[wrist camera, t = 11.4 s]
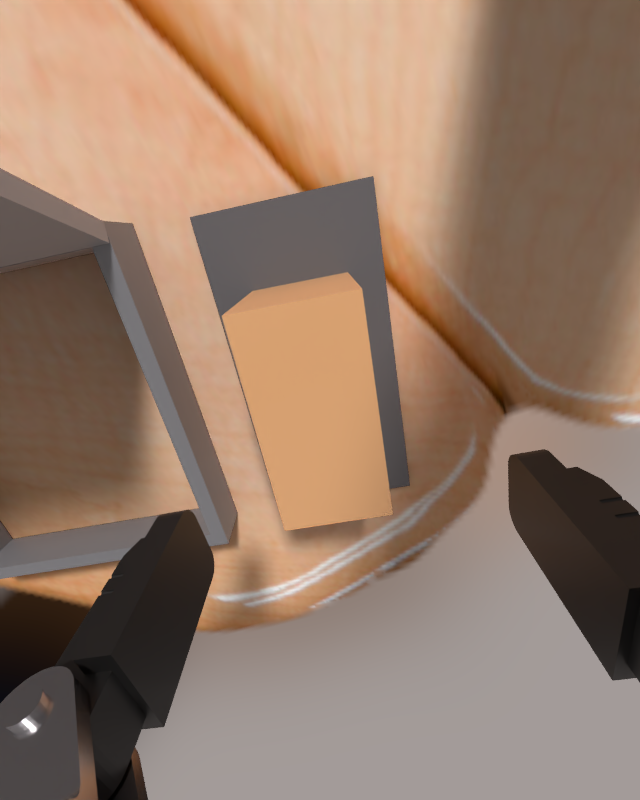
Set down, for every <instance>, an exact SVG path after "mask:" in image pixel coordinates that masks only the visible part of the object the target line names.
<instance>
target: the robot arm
mask: <svg viewBox="0 0 640 800" xmlns="http://www.w3.org/2000/svg"><path fill="white" fill-rule="evenodd" d="M508 469H509V470H508V474H509V475H508V476H509V477H508V479H509V510H510V515H511V518H512V521H513V524H514V526H515V528H516V530H517V532H518V533H519V535H520V537H521V538H522V540H523V541H524V543H525V545H526V546H527V548H528V549H529V551H530V552H531V554H532V555H533V557H534V559H535V560H536V562H537V563H538V565H539V566H540V568H541V570H542V571H543V572H544V574H545V576H546V577H547V579H548V580H549V582H550V584H551V585H552V587H553V588H554V590H555V591H556V593H557V594H558V596H559V598H560V599H561V601H562V602H563V604H564V605H565V607H566V609H567V610H568V612H569V613H570V615H571V616H572V618H573V619H574V621H575V623H576V624H577V626H578V627H579V629H580V630H581V632H582V634H583V635H584V637H585V638H586V640H587V641H588V642H589V644H590V646H591V648H592V649H593V651H594V652H595V654H596V655H597V657H598V658H599V660H600V662H601V663H602V665H603V666H604V668H605V669H606V671H607V672H608V674H609V676H610V677H611V679H612V680H621V679H630V678H637V679H638V680H639V682H640V515H639V513H638V511H637V510H636V509H635V508H634V507H633V506H632V505H631V504H629V503H628V502H627V501H626V500H623V499H622V497H621V496H620V495H619V494H618V493H617V492H616V491H615V490H614V489H613V488H612V487H610V486H609V485H608V484H607V483H606V482H605V481H604V480H602V479H600V478H598V477H596V476H594V475H592V474H590V473H588V472H586V471H584V470H582V469H580V468H578V467H573V468H566V467H565V466H564V465H562V463H560V462H559V461H558V460H557V459H556V458H555V457H554V456H553V455H552V454H551V453H550V452H549V451H547V450H538V451H532V452H527V453H520V454H515V455H511V456H510V457H509V461H508ZM213 574H214V558H213V553H212V551H211V548H210V546H209V544H208V542H207V540H206V538H205V536H204V533H203V531H202V529H201V527H200V525H199V523H198V521H197V518H196V516H195V515H194V513H193V512H192V511H190V510H185V511H179V512H173V513H167V514H162V515H159V516H158V517H157V518H156V520H155V521H154V523H153V525H152V526H151V528H150V530H149V531H148V533H147V535H146V537H145V538H141V539H140V540H139V541H138V542H137V543H136V544H135V545H134V546H133V547H132V548H131V549H130V550H129V551H128V552H127V553H126V554H125V555H124V556H123V558H122V559H121V561H120V562H119V564H118V566H117V567H116V569H115V570H114V572H113V574H112V578H111V579H109V580H108V582H107V583H106V585H105V586H104V588H103V590H102V591H101V592H102V594H101V596H98V598H97V599H96V601H95V603H94V604H93V606H92V607H91V609H90V611H89V612H88V614H87V616H86V617H85V619H84V620H83V622H82V623H81V625H80V627H79V628H78V630H77V631H76V633H75V635H74V636H73V638H72V640H71V641H70V643H69V644H68V646H67V648H66V649H65V651H64V652H63V654H62V656H61V657H60V659H59V660H58V662H57V664H56V665H55V666H54V667H51V668H48V669H45V670H43V671H40V672H38V673H36V674H35V675H33V676H32V677H30V678H28V679H27V680H26V681H24V682H23V683H22V684H20V685H19V686H18V687H17V688H16V689H14V690H13V691H12V692H11V693H10V694H9V695H8V696H7V697H6V698H5V699H4V700H3V702H2V703H1V704H0V800H148V797H147V792H146V788H145V782H144V777H143V772H142V767H141V762H140V758H139V754H138V751H137V750H136V748H135V745H136V742H137V740H138V737H139V734H140V732H141V729H148V728H158V727H164V726H165V723H166V719H167V716H168V713H169V710H170V707H171V704H172V701H173V698H174V694H175V692H176V689H177V686H178V683H179V679H180V676H181V673H182V670H183V667H184V664H185V661H186V658H187V655H188V652H189V649H190V645H191V643H192V640H193V636H194V633H195V630H196V627H197V624H198V621H199V618H200V615H201V612H202V609H203V606H204V603H205V600H206V596H207V593H208V590H209V587H210V584H211V581H212V578H213Z"/></svg>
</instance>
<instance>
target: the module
mask: <svg viewBox="0 0 640 800" xmlns="http://www.w3.org/2000/svg"><path fill="white" fill-rule="evenodd" d="M222 319H223V323H224V326H225V330H226V333H227V336H228V340H229V343H230V347H231V350H232V353H233V357H234V360H235V363H236V367H237V370H238V374H239V377H240V380H241V384H242V387H243V391H244V394H245V397H246V401H247V404H248V408H249V411H250V414H251V418H252V421H253V425H254V428H255V431H256V435H257V438H258V441H259V445H260V448H261V452H262V455H263V458H264V462H265V465H266V469H267V472H268V475H269V479H270V482H271V486H272V489H273V492H274V496H275V499H276V503H277V506H278V509H279V513H280V516H281V519H282V523H283V526H284V530H285V531H288V530H294V529H301V528H308V527H314V526H321V525H328V524H334V523H341V522H347V521H354V520H361V519H367V518H374V517H381V516H387V515H393V510H392V503H391V496H390V488H389V481H388V474H387V467H386V459H385V452H384V445H383V437H382V430H381V423H380V415H379V408H378V401H377V393H376V386H375V379H374V371H373V364H372V357H371V350H370V342H369V335H368V328H367V320H366V313H365V306H364V298H363V291H362V288H361V287H360V286H359V284H358V283H357V282H356V281H355V280H354V279H353V278H352V276H351V275H350V274H349V273H348V272H346V273H341V274H336V275H331V276H326V277H321V278H316V279H311V280H306V281H301V282H296V283H290V284H285V285H280V286H275V287H270V288H265V289H260V290H255V291H252V292H251V293H249V294H248V295H247V296H246V297H244V298H243V299H242V300H241V301H239V302H238V303H237V304H236V305H234V306H233V307H232V308H231V309H229V310H228V311H227V312H226V313H224V314H223V315H222Z"/></svg>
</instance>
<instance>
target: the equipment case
mask: <svg viewBox="0 0 640 800" xmlns="http://www.w3.org/2000/svg"><path fill="white" fill-rule="evenodd" d="M91 253H94V254H95V257H96V259H97V262H98V264H99V266H100V269H101V271H102V274H103V276H104V279H105V281H106V283H107V286H108V288H109V291H110V293H111V295H112V298H113V300H114V303H115V305H116V308H117V310H118V312H119V315H120V317H121V320H122V322H123V324H124V327H125V329H126V332H127V334H128V337H129V339H130V341H131V344H132V346H133V349H134V351H135V353H136V356H137V358H138V361H139V363H140V366H141V368H142V370H143V373H144V375H145V378H146V380H147V383H148V385H149V387H150V390H151V392H152V395H153V397H154V399H155V402H156V404H157V407H158V409H159V412H160V414H161V416H162V419H163V421H164V424H165V426H166V428H167V431H168V433H169V436H170V438H171V441H172V443H173V445H174V448H175V450H176V453H177V455H178V457H179V460H180V462H181V465H182V467H183V470H184V472H185V474H186V477H187V479H188V482H189V484H190V486H191V489H192V491H193V494H194V496H195V499H196V501H197V503H198V506H199V509H193V510H190V511H192V512H193V513H194V515H195V516H196V518H197V521H198V523H199V525H200V527H201V529H202V531H203V533H204V536H205V538H206V540H207V542H208V544H209V546H215V545H222V544H228V543H229V540H230V537H231V534H232V530H233V527H234V523H235V520H236V517H237V510H236V507H235V505H234V502H233V499H232V496H231V494H230V491H229V488H228V485H227V483H226V480H225V477H224V474H223V472H222V469H221V466H220V463H219V460H218V458H217V455H216V452H215V449H214V447H213V444H212V441H211V438H210V436H209V433H208V430H207V427H206V425H205V422H204V419H203V416H202V414H201V411H200V408H199V405H198V403H197V400H196V397H195V394H194V392H193V389H192V386H191V383H190V381H189V378H188V375H187V372H186V370H185V367H184V364H183V361H182V359H181V356H180V353H179V350H178V348H177V345H176V342H175V339H174V337H173V334H172V331H171V328H170V326H169V323H168V320H167V317H166V315H165V312H164V309H163V306H162V304H161V301H160V298H159V295H158V293H157V290H156V287H155V284H154V282H153V279H152V276H151V273H150V271H149V268H148V265H147V262H146V260H145V257H144V254H143V251H142V248H141V246H140V243H139V240H138V237H137V235H136V232H135V229H134V226H133V224H132V223H120V222H108V221H102V220H100V219H98V218H96V217H94V216H92V215H90V214H88V213H86V212H84V211H82V210H80V209H78V208H76V207H74V206H73V205H71V204H69V203H67V202H65V201H63V200H61V199H59V198H57V197H55V196H53V195H51V194H49V193H47V192H45V191H43V190H41V189H40V188H38V187H36V186H34V185H32V184H30V183H28V182H26V181H24V180H22V179H20V178H18V177H16V176H14V175H12V174H10V173H8V172H7V171H5V170H3V169H1V168H0V273H5V272H9V271H14V270H18V269H23V268H27V267H32V266H36V265H41V264H45V263H50V262H54V261H59V260H63V259H68V258H72V257H77V256H82V255H86V254H91ZM158 516H159V515H157V516H150V517H144V518H138V519H132V520H126V521H120V522H114V523H108V524H102V525H95V526H89V527H83V528H77V529H71V530H65V531H59V532H53V533H46V534H40V535H34V536H28V537H22V538H16V539H12V537H11V536H10V534H9V533H8V532H7V530H6V529H5V527H4V526H3V525H2V523H1V522H0V579H3V578H9V577H16V576H22V575H28V574H35V573H41V572H48V571H54V570H61V569H67V568H74V567H80V566H86V565H93V564H99V563H106V562H112V561H119V560H121V559H122V558H123V556H124V555H125V554H126V553H127V552H128V551H129V550H130V549H131V548H132V547H133V546H134V545H135V544H136V543H137V542H138V541H139V540H140V539H141V538H145V537H146V535H147V533H148V531H149V530H150V528H151V526H152V525H153V523H154V521H155V520H156V518H157V517H158Z"/></svg>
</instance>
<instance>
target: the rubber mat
mask: <svg viewBox="0 0 640 800" xmlns="http://www.w3.org/2000/svg"><path fill="white" fill-rule="evenodd" d="M190 220H191V223H192V226H193V230H194V233H195V236H196V239H197V243H198V246H199V249H200V253H201V256H202V259H203V262H204V266H205V269H206V272H207V276H208V279H209V282H210V285H211V289H212V292H213V295H214V299H215V302H216V305H217V308H218V312H219V315H220V318H221V322H222V325H223V328H224V331H225V335H226V338H227V341H228V345H229V348H230V351H231V354H232V358H233V361H234V364H235V368H236V371H237V374H238V370H237V367H236V363H235V360H234V357H233V353H232V350H231V347H230V343H229V340H228V336H227V333H226V330H225V326H224V323H223V319H222V315H223V314H224V313H226V312H227V311H228V310H229V309H231V308H232V307H233V306H234V305H236V304H237V303H238V302H239V301H241V300H242V299H243V298H244V297H246V296H247V295H248V294H249V293H251V292H252V291H255V290H260V289H265V288H270V287H275V286H280V285H285V284H290V283H296V282H301V281H306V280H311V279H316V278H321V277H326V276H331V275H336V274H341V273H346V272H348V273H349V274H350V275H351V276H352V278H353V279H354V280H355V281H356V282H357V283H358V284H359V286H360V287H361V288H362V291H363V298H364V306H365V313H366V320H367V328H368V335H369V342H370V350H371V357H372V364H373V371H374V379H375V386H376V393H377V401H378V408H379V415H380V423H381V430H382V437H383V445H384V452H385V459H386V467H387V474H388V481H389V488H390V489H391V488H397V487H403V486H409V485H410V483H409V474H408V466H407V457H406V449H405V440H404V432H403V423H402V415H401V407H400V398H399V390H398V381H397V373H396V364H395V356H394V347H393V339H392V330H391V322H390V313H389V305H388V296H387V288H386V279H385V271H384V263H383V254H382V246H381V237H380V229H379V220H378V212H377V203H376V195H375V186H374V178H373V176H372V177H368V178H363V179H359V180H354V181H350V182H345V183H341V184H336V185H332V186H327V187H323V188H318V189H314V190H310V191H305V192H301V193H296V194H292V195H287V196H283V197H278V198H274V199H269V200H265V201H261V202H256V203H252V204H247V205H243V206H238V207H234V208H229V209H225V210H220V211H216V212H212V213H207V214H203V215H198V216H194V217H190ZM238 377H239V374H238ZM239 381H240V384H241V380H240V377H239ZM241 387H242V384H241ZM242 391H243V387H242ZM243 394H244V391H243ZM244 397H245V394H244ZM245 400H246V397H245ZM246 404H247V401H246ZM247 407H248V404H247ZM248 410H249V408H248ZM249 414H250V411H249ZM250 417H251V414H250ZM251 420H252V418H251ZM252 423H253V421H252ZM253 427H254V425H253ZM254 430H255V428H254ZM255 433H256V431H255ZM256 437H257V435H256ZM257 440H258V438H257ZM258 443H259V441H258ZM259 446H260V445H259ZM260 450H261V448H260ZM261 453H262V452H261ZM262 456H263V455H262ZM263 460H264V458H263ZM264 463H265V462H264ZM265 466H266V465H265ZM267 473H268V472H267ZM268 476H269V475H268ZM270 483H271V482H270Z"/></svg>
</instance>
